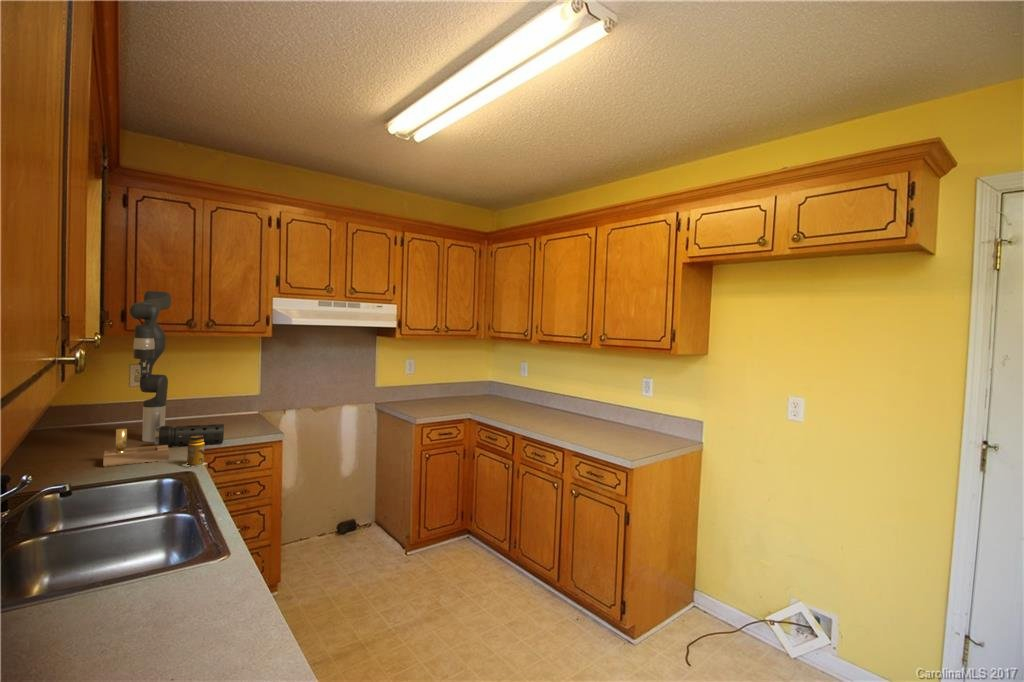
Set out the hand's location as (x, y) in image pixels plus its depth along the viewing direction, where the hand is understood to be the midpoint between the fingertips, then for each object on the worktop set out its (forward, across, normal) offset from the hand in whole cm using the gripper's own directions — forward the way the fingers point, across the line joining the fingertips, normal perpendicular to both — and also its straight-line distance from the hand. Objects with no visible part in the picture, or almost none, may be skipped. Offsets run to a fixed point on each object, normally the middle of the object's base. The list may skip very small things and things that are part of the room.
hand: (143, 383), depth 222 cm
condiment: (+32, +30, +17) cm, 47 cm away
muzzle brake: (+33, -8, +19) cm, 39 cm away
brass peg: (+32, +13, -8) cm, 35 cm away
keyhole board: (+32, +13, -2) cm, 34 cm away
